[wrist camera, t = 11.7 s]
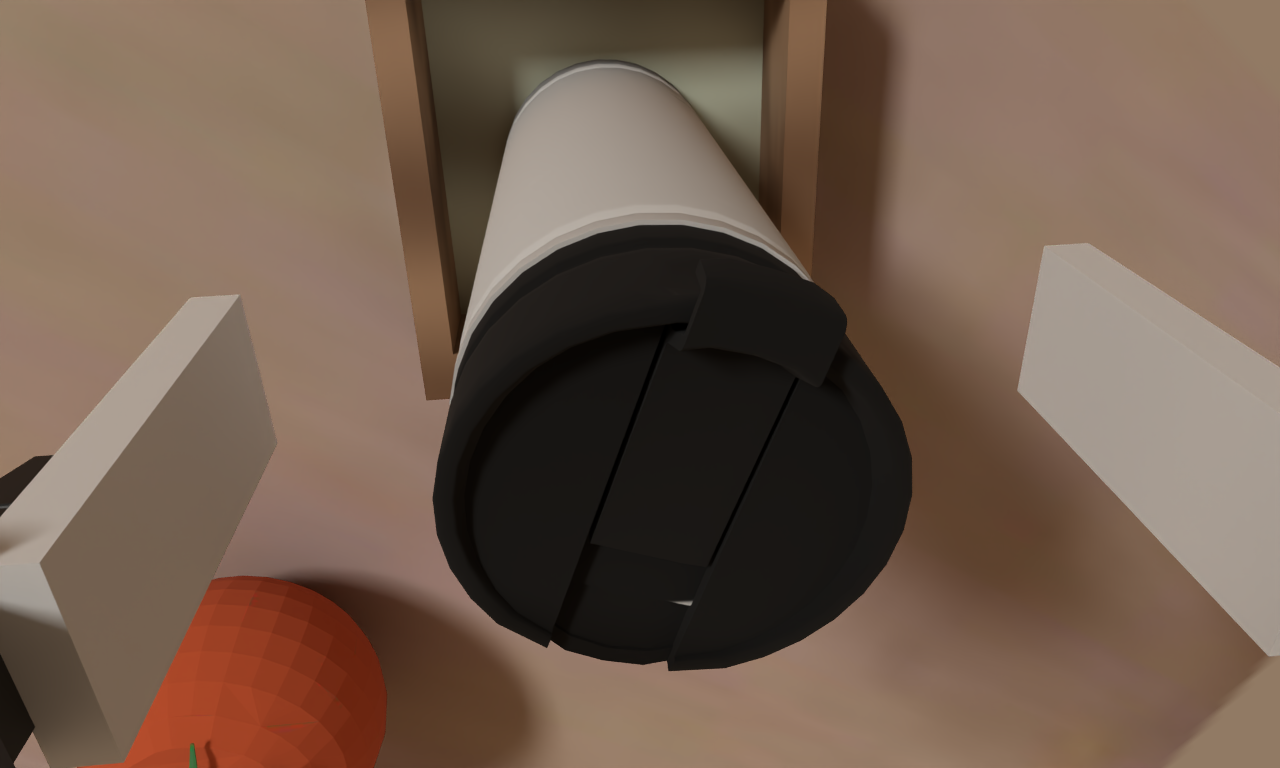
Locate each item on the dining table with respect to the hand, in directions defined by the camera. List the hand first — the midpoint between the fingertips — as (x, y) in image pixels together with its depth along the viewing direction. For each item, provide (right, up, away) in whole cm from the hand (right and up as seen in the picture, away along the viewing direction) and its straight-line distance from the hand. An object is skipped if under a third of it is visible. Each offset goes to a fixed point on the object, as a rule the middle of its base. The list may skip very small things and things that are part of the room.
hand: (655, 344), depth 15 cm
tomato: (-15, -10, +22) cm, 29 cm away
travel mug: (-1, +7, +14) cm, 15 cm away
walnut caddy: (-1, +7, +14) cm, 16 cm away
